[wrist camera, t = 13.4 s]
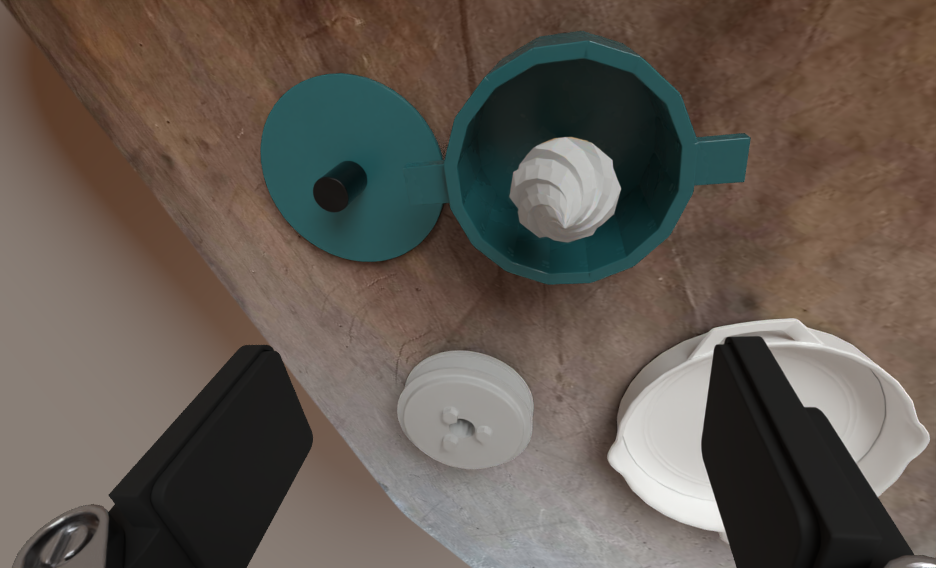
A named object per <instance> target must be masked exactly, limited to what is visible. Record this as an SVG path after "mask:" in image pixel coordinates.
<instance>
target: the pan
mask: <svg viewBox="0 0 936 568" xmlns="http://www.w3.org/2000/svg"><path fill="white" fill-rule="evenodd" d="M738 336H760V337H762V338H763V339H764V341H765V342H766V344H767V346H768V347H769V349H770V351H771V352H772V354H773V356H774V357H775V359H776V361H777V362H778V364H779V366H780V367H781V369H782V371H783V372H784V374H785V376H786V378H787V379H788V381H789V383H790V384H791V386H792V388H793V389H794V391H795V393H796V394H797V396H798V398H799V399H800V401H801V403H802V404H803V406H804V407H816V408H818V409H819V410H821V411H822V412H823V413H824V415H825V416H826V417H827V418H828V420H829V422H830V423H831V425H832V426H833V428H834V429H835V431H836V432H837V434H838V436H839V437H840V439H841V440H842V442H843V443H844V445H845V447H846V448H847V450H848V451H849V453H850V454H851V456H852V458H853V459H854V461H855V462H856V464H857V465H858V467H859V469H860V470H861V472H862V473H863V475H864V476H865V478H866V480H867V481H868V483H869V484H870V486H871V487H872V489H873V491H874V492H875V494H876V495H877V497H878V496H880V495H881V494H882V493H883V492H884V491H885V490H886V489H887V488H888V487H890V486H891V485H892V484H893V483H894V482H895V481H896V480H897V479H898V478H899V476H900V475H901V474H902V472H903V471H904V469H905V468H906V466H907V465H908V463H909V462H910V461H911V460H912V459H914V458H915V457H917V456H918V455H919V454H920V453H921V452H922V451H923V450H924V449H925V448H926V447H927V445H928V443H929V441H930V437H929V433H928V432H927V430H926V429H925V427H924V426H923V425H922V424H921V423H920V422H919V421H918V418H917V414H916V411H915V408H914V404H913V401H912V400H911V398H910V397H909V395H908V394H907V393H906V391H905V390H904V389H903V387H902V386H901V385H900V383H899V382H898V381H897V380H896V379H894V378H893V377H892V376H891V375H889V374H888V373H887V372H886V371H884V370H883V369H882V368H881V367H880V366H878V365H877V364H875V363H874V362H873V361H872V360H871V359H870V358H868V357H867V356H866V355H865V354H863V353H862V352H861V351H860V350H858V349H857V348H856V347H855V346H853V345H852V344H850V343H848V342H846V341H844V340H842V339H840V338H838V337H836V336H834V335H832V334H828V333H825V332H821V331H818V330H814V329H811V328H808V327H806V326H805V325H804V324H803V323H801V322H800V321H799V320H798V319H795V318H787V319H771V320H761V321H751V322H745V323H738V324H732V325H726V326H721V327H715V328H712V329H711V330H710V331H709V332H708V333H705V334H702V335H699V336H696V337H694V338H691V339H688V340H685V341H683V342H681V343H679V344H678V345H676V346H674V347H672V348H670V349H669V350H667V351H665V352H663V353H661V354H660V355H659V356H658V357H656V358H655V359H654V360H653V361H651V362H650V363H649V364H648V365H646V366H645V367H644V368H643V369H642V370H641V372H640V373H639V374H638V375H637V376H636V377H635V379H634V380H633V381H632V382H631V383H630V385H629V387H628V389H627V390H626V392H625V394H624V396H623V398H622V400H621V402H620V406H619V411H618V415H617V430H618V432H617V436H616V440H615V442H614V443H613V444H612V445H611V448H610V450H609V452H608V456H607V460H608V462H609V464H610V465H611V466H612V467H613V468H614V469H615V470H616V471H617V472H619V473H620V474H621V475H622V476H623V477H624V479H625V480H626V482H627V484H628V485H629V487H630V488H631V490H632V491H633V492H635V493H636V494H637V495H638V496H639V497H640V498H641V499H642V500H643V501H644V502H645V503H647V504H648V505H650V506H651V507H653V508H654V509H656V510H657V511H659V512H660V513H662V514H664V515H666V516H668V517H670V518H672V519H674V520H677V521H679V522H681V523H684V524H687V525H691V526H694V527H698V528H701V529H705V530H711V531H717V532H719V535H720V538H721V539H722V540H723V541H724V542H726V543H727V544H728V545H729V541H728V538H727V535H726V532H725V529H724V525H723V522H722V519H721V516H720V513H719V509H718V506H717V503H716V500H715V497H714V493H713V490H712V487H711V484H710V481H709V478H708V474H707V471H706V468H705V465H704V462H703V458H702V451H701V439H702V432H703V425H704V417H705V410H706V403H707V396H708V388H709V381H710V374H711V367H712V359H713V352H714V347H715V345H717V344H724V342H725V339H726V338H727V337H738ZM729 546H730V545H729Z"/></svg>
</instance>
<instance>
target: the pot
mask: <svg viewBox="0 0 936 568" xmlns="http://www.w3.org/2000/svg"><path fill="white" fill-rule="evenodd" d="M563 137H574V138H578V139H582V140H586V141H588V142H591V143H593V144H594V145H595V146H596V147H597V148H599V149H600V150H601V151H602V152H603V153H605V154H606V155H607V156H608V157H609V158H610V159H612V160H613V169H614V172H615V174H616V177H617V179H618V182H619V185H620V187H621V191H620V195H619V198H618V202H617V205H616V209H615V212H614V214H613V215H612V216H611V217H610V218H609V219H608V220H607V221H606V222H604V223H603V224H602V225H601V226H599V227H597V229H596V230H595V232H594V234H593V235H591V236H587V237H584V238H581V239H578V240H575V241H571V242H568V243H567V242H561V241H555V240H552V239H551V238H549V237H542V238H539V237H538V236H536V235H535V234H534V233H532V232H531V231H530V230H528V229H527V228H526V227H525V226H523V225H522V224H521V223H520V221H519V216H518V210H519V209H518V208H517V207H516V205H515V204H514V203H513V201H512V200H511V199H510V197H509V196H510V190H511V184H512V178H513V172H514V171H516V170H518V168H519V165H520V163H521V162H522V161H523V160H524V158H525V157H526V155H527V154H528V153H529V152H530V151H531V150H532V149H533V148H534V147H536V146H537V145H539V144H541V143H544V142H546V141H549V140H551V139H554V138H563ZM750 139H751V138H750V137H749V136H748V135H746V134H745V133H741V134H730V135H719V136H707V137H696V135H695V132H694V129H693V127H692V124H691V121H690V118H689V116H688V113H687V110H686V107H685V104H684V102H683V99H682V96H681V95H680V93H679V92H678V91H677V90H676V89H675V88H674V87H673V86H672V85H671V84H670V83H669V82H668V81H667V80H666V79H665V78H664V77H662V76H661V75H660V74H659V73H658V72H657V71H656V70H655V69H654V68H653V67H652V66H651V65H650V64H649V63H648V62H647V61H646V60H645V59H644V58H642V57H641V56H640V55H638V54H637V53H635V52H634V51H633V50H631V49H630V48H629V47H627V46H626V45H624V44H623V43H620V42H617V41H613V40H610V39H607V38H604V37H602V36H597V35H594V34H591V33H588V32H584V31H577V32H570V33H559V34H554V35H548V36H541V37H539V38H536V39H534V40H532V41H531V42H529V43H527V44H526V45H524V46H522V47H520V48H519V49H517V50H516V51H514V52H513V53H511V54H509V55H508V56H506V57H504V58H503V59H502V60H500V61H499V62H498V63H497V65H496V66H495V67H494V68H493V69H492V70H491V71H490V72H489V73H488V74H487V75H486V76H485V77H484V79H483V80H482V81H481V83H480V84H479V85H478V87H477V88H476V89H475V91H474V92H473V94H472V95H471V96H470V98H469V99H468V100H467V102H466V103H465V105H464V106H463V107H462V109H461V110H460V111H459V113H458V114H457V116H456V117H455V119H454V123H453V127H452V131H451V135H450V139H449V144H448V148H447V152H446V156H445V160H440V161H429V162H418V163H407V164H406V165H405V166H404V167H403V173H404V178H405V183H406V188H407V193H408V198H409V203H410V206H413V205H427V204H441V203H450V209H451V211H452V212H453V214H454V216H455V217H456V219H457V220H458V222H459V224H460V225H461V227H462V229H463V230H464V232H465V234H466V235H467V237H468V239H469V240H470V242H471V244H472V245H473V246H474V247H475V248H476V249H478V250H479V251H480V252H482V253H483V254H484V255H485V256H487V257H488V258H489V259H491V260H492V261H493V262H495V263H496V264H497V265H498V266H500V267H501V268H502V269H504V270H505V271H507V272H509V273H512V274H516V275H519V276H522V277H525V278H528V279H532V280H535V281H538V282H541V283H544V284H548V285H550V284H579V283H592V282H595V281H597V280H600V279H603V278H605V277H608V276H611V275H613V274H616V273H618V272H621V271H624V270H626V269H629V268H631V267H633V266H635V265H636V264H637V263H638V262H640V261H641V260H642V259H643V258H644V257H645V256H647V255H648V254H649V253H650V252H651V251H652V250H654V249H655V248H656V247H657V246H658V245H659V244H661V243H662V242H663V241H664V240H665V239H667V238H668V237H669V235H671V233H672V231H673V229H674V227H675V225H676V224H677V222H678V220H679V218H680V216H681V214H682V213H683V211H684V209H685V207H686V205H687V203H688V201H689V200H690V198H691V196H692V194H693V191H694V185H708V184H722V183H736V182H744V180H745V173H746V166H747V159H748V153H749V146H750Z"/></svg>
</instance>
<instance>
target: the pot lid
mask: <svg viewBox="0 0 936 568" xmlns="http://www.w3.org/2000/svg"><path fill="white" fill-rule="evenodd" d="M440 160H443V157H442V153H441V151H440V148H439V145H438V142H437V140H436V138H435V136H434V134H433V132H432V130H431V129H430V127H429V126H428V124H427V123H426V121H425V120H424V118H423V117H422V116H421V115H420V114H419V112H418V111H417V110H416V109H415V108H414V107H413V106H412V105H411V104H410V103H409V102H408V101H407V100H406V99H405V98H403V97H402V96H401V95H399V94H398V93H397V92H395V91H394V90H392V89H391V88H389V87H387V86H385V85H383V84H381V83H379V82H377V81H374V80H372V79H369V78H366V77H362V76H358V75H354V74H343V73H336V74H325V75H320V76H316V77H313V78H310V79H308V80H305V81H302V82H300V83H299V84H297V85H295V86H294V87H292V88H291V89H290V90H288V91H287V92H286V93H285V94H284V95H283V96H282V97H281V98H280V99H279V100H278V101H277V103H276V104H275V105H274V107H273V109H272V110H271V112H270V114H269V116H268V118H267V121H266V123H265V126H264V130H263V134H262V139H261V164H262V170H263V175H264V178H265V182H266V185H267V188H268V190H269V193H270V195H271V197H272V199H273V201H274V203H275V204H276V206H277V208H278V209H279V211H280V212H281V214H282V215H283V217H284V218H285V219H286V220H287V221H288V223H289V224H290V225H291V226H292V227H293V228H294V229H295V230H296V231H297V232H298V233H299V234H300V235H301V236H303V237H304V238H305V239H306V240H308V241H309V242H310V243H312V244H314V245H315V246H317V247H318V248H320V249H322V250H324V251H326V252H328V253H330V254H333V255H335V256H338V257H341V258H345V259H349V260H354V261H361V262H375V261H384V260H388V259H392V258H395V257H398V256H400V255H403V254H405V253H407V252H408V251H410V250H412V249H413V248H415V247H416V246H417V245H418V244H420V243H421V242H422V241H423V240H424V239H425V238H426V237H427V235H428V234H429V233H430V231H431V230H432V229H433V227H434V225H435V224H436V222H437V220H438V218H439V216H440V213H441V210H442V207H443V204H444V203H441V204H427V205H413V206H410V203H409V198H408V193H407V188H406V183H405V178H404V173H403V167H404V166H405V165H406V164H407V163H418V162H429V161H440Z"/></svg>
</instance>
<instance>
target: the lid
mask: <svg viewBox="0 0 936 568" xmlns="http://www.w3.org/2000/svg"><path fill="white" fill-rule="evenodd" d="M533 411H534V403H533V398H532V394H531V391H530V389H529V387H528V385H527V384H526V382H525V381H524V379H523V378H522V377H521V376H520V375H519V374H518V373H517V372H516V371H515V370H514V369H513V368H511V367H510V366H508V365H507V364H505V363H504V362H502V361H500V360H498V359H496V358H494V357H491V356H489V355H486V354H482V353H478V352H473V351H463V350H456V351H446V352H441V353H438V354H435V355H432V356H430V357H428V358H426V359H424V360H423V361H421V362H420V363H418V364H417V365H416V366H415V367H414V368H413V370H412V371H411V373H410V374H409V376H408V378H407V381H406V384H405V388H404V390H403V391H402V393H401V396H400V398H399V401H398V407H397V412H398V419H399V423H400V425H401V428H402V430H403V431H404V433H405V435H406V436H407V437H408V439H409V440H410V441H411V442H412V443H413V444H414V445H415V446H416V447H417V448H418V449H420V450H421V451H422V452H424V453H425V454H426V455H428V456H429V457H431V458H433V459H434V460H436V461H439V462H441V463H443V464H446V465H449V466H453V467H457V468H463V469H484V468H491V467H495V466H499V465H502V464H505V463H507V462H509V461H511V460H513V459H514V458H516V457H517V456H518V455H519V454H521V453H522V452H523V451H524V449H525V448H526V446H527V445H528V443H529V441H530V439H531V435H532V428H533V424H532V417H533Z"/></svg>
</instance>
